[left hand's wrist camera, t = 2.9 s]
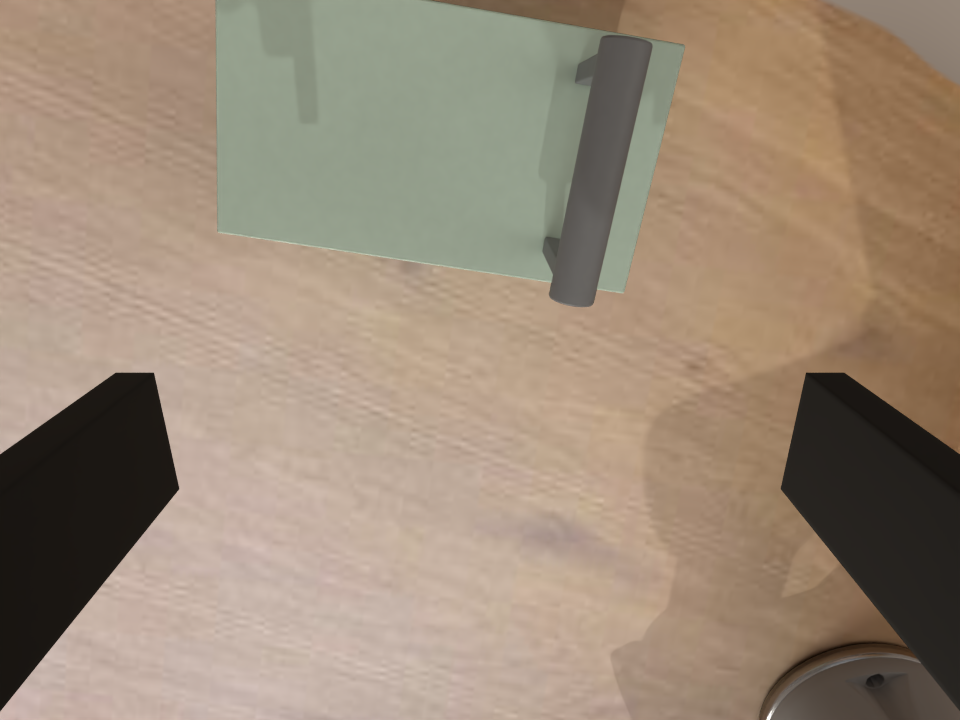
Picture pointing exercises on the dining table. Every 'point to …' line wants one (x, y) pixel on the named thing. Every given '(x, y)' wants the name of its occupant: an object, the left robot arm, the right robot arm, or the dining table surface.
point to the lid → (440, 136)
